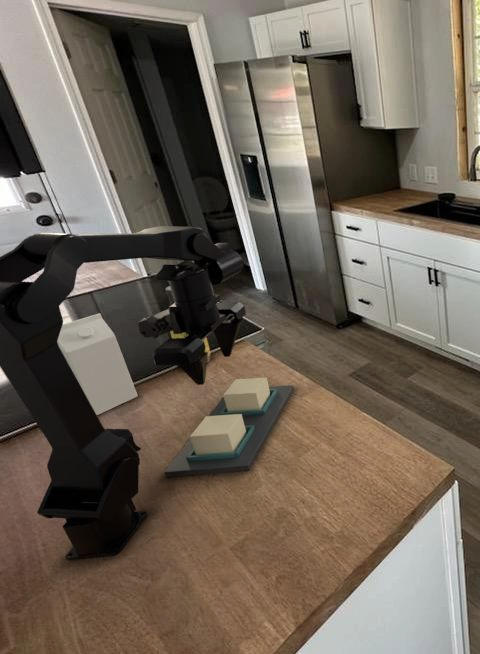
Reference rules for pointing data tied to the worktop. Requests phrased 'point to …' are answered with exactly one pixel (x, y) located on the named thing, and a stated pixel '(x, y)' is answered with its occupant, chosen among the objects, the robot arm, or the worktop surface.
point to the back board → (248, 449)
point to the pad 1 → (218, 434)
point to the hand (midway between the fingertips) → (214, 369)
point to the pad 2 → (247, 394)
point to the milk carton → (97, 362)
